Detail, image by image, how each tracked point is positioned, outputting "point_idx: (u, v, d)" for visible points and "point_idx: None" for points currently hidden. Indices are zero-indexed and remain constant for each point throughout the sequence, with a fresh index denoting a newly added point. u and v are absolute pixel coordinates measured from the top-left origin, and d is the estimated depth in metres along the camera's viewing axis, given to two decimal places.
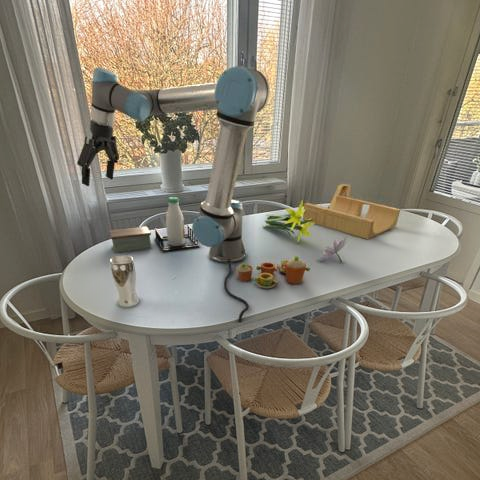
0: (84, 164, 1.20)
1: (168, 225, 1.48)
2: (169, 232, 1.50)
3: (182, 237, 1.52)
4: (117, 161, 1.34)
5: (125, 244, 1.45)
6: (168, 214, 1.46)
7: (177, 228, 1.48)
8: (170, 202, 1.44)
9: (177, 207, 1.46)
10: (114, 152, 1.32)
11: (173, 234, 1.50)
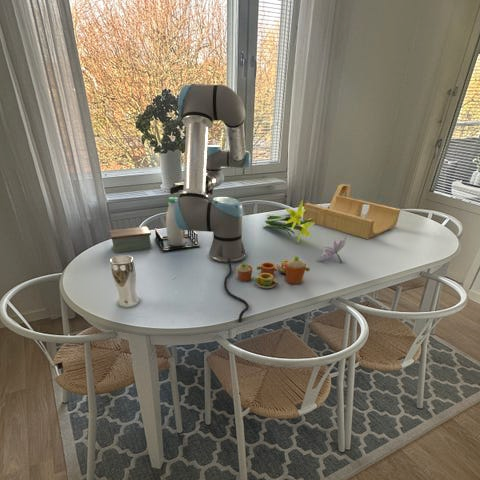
0: None
1: (168, 225, 1.48)
2: (169, 232, 1.50)
3: (182, 237, 1.52)
4: (207, 186, 1.55)
5: (125, 244, 1.45)
6: (168, 214, 1.46)
7: (177, 228, 1.48)
8: (170, 202, 1.44)
9: None
10: (209, 188, 1.58)
11: (173, 234, 1.50)
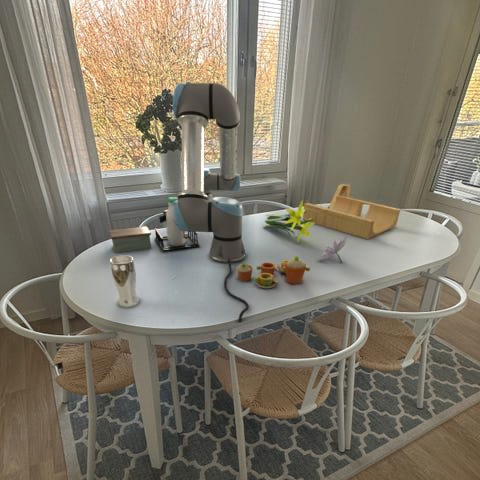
0: (165, 211, 1.54)
1: (168, 225, 1.48)
2: (169, 232, 1.50)
3: (182, 237, 1.52)
4: None
5: (125, 244, 1.45)
6: (168, 214, 1.46)
7: (177, 228, 1.48)
8: (170, 202, 1.44)
9: None
10: None
11: (173, 234, 1.50)
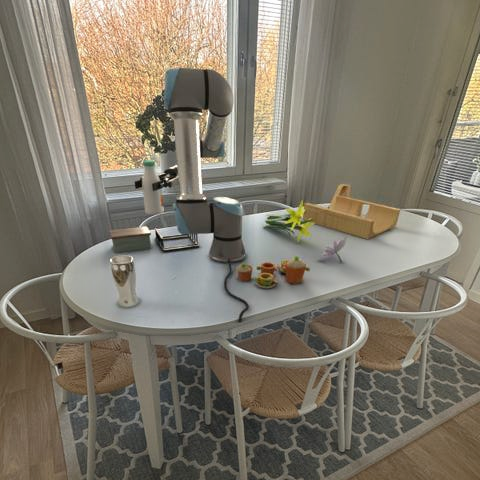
0: (142, 177, 1.44)
1: (144, 191, 1.38)
2: (145, 199, 1.40)
3: (160, 205, 1.42)
4: (165, 179, 1.38)
5: (125, 244, 1.45)
6: (144, 179, 1.36)
7: (154, 194, 1.38)
8: (145, 165, 1.34)
9: (153, 171, 1.36)
10: None
11: (149, 201, 1.40)
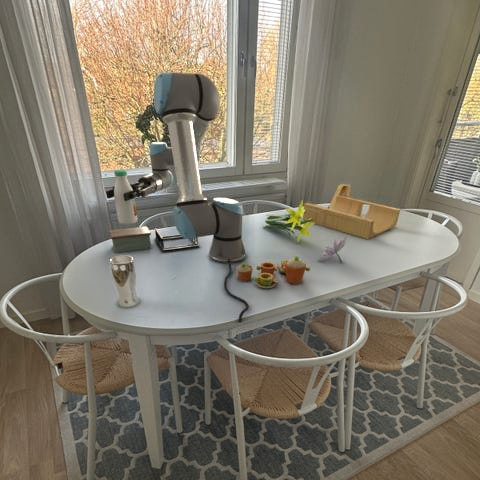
0: (114, 186, 1.42)
1: (116, 201, 1.37)
2: (118, 209, 1.38)
3: (133, 215, 1.40)
4: (137, 188, 1.37)
5: (125, 244, 1.45)
6: (115, 189, 1.35)
7: (126, 204, 1.37)
8: (117, 175, 1.32)
9: (125, 181, 1.34)
10: None
11: (122, 210, 1.38)
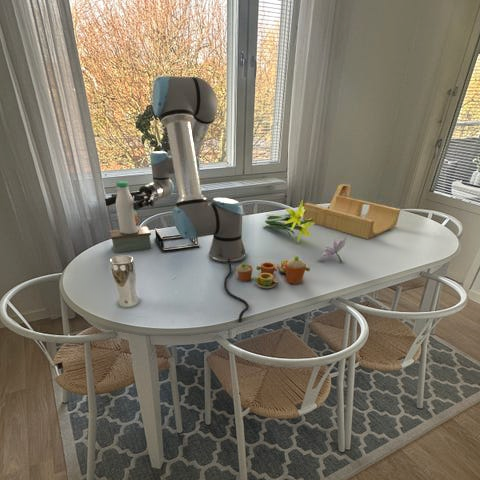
0: (114, 194, 1.46)
1: (118, 211, 1.39)
2: (120, 219, 1.40)
3: (134, 225, 1.43)
4: (147, 197, 1.39)
5: (125, 244, 1.45)
6: (117, 199, 1.37)
7: (128, 214, 1.39)
8: (118, 186, 1.34)
9: (127, 192, 1.36)
10: None
11: (123, 221, 1.40)
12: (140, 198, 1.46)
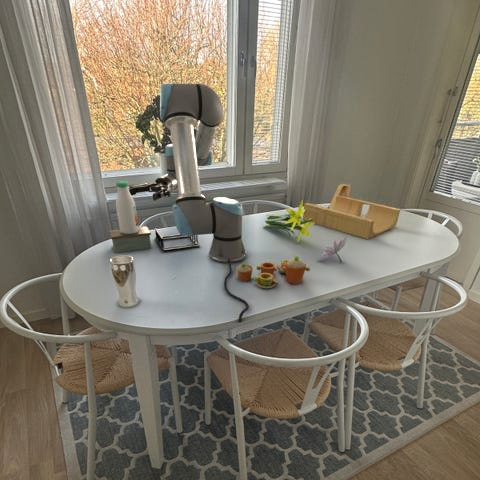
0: (132, 186, 1.55)
1: (118, 211, 1.39)
2: (120, 219, 1.40)
3: (134, 225, 1.43)
4: (164, 188, 1.49)
5: (125, 244, 1.45)
6: (117, 199, 1.37)
7: (128, 214, 1.39)
8: (118, 186, 1.34)
9: (127, 192, 1.36)
10: None
11: (123, 221, 1.40)
12: (157, 189, 1.56)
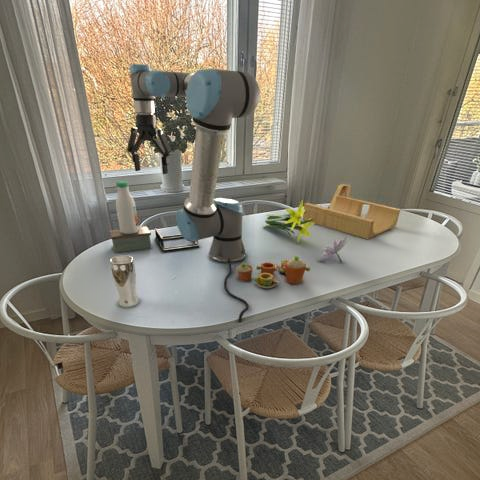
0: (128, 148, 1.43)
1: (118, 211, 1.39)
2: (120, 219, 1.40)
3: (134, 225, 1.43)
4: (163, 155, 1.38)
5: (125, 244, 1.45)
6: (117, 199, 1.37)
7: (128, 214, 1.39)
8: (118, 186, 1.34)
9: (127, 192, 1.36)
10: None
11: (123, 221, 1.40)
12: (150, 140, 1.39)
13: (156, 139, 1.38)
